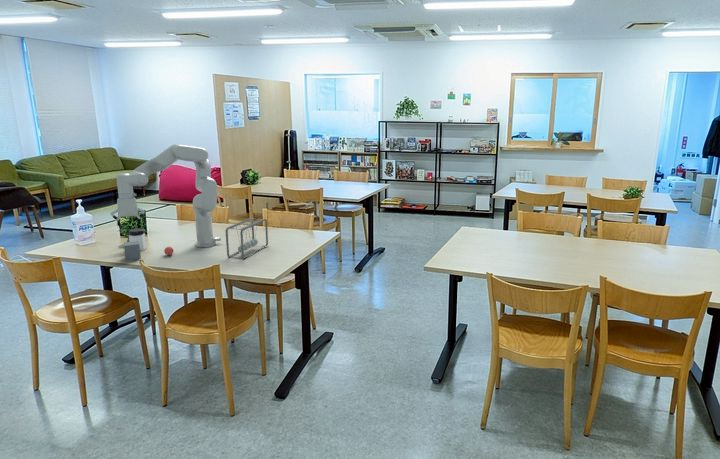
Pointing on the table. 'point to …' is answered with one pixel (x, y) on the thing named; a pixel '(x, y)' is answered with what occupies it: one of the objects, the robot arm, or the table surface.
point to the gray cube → (132, 250)
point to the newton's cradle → (250, 243)
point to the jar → (138, 237)
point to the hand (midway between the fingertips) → (129, 226)
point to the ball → (168, 250)
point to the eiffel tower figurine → (127, 241)
